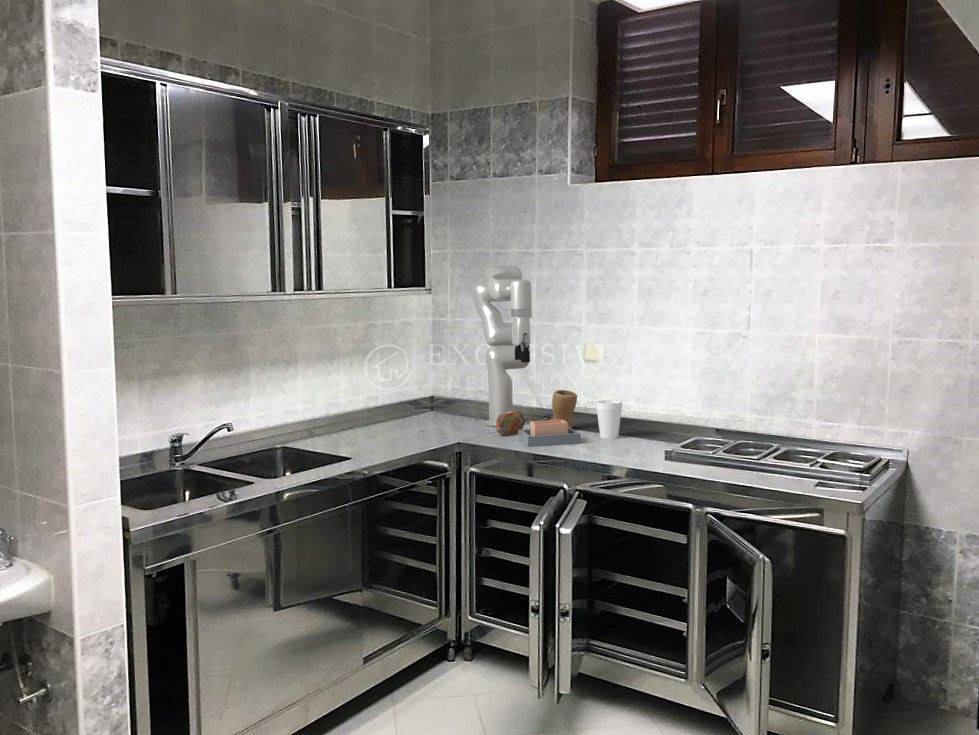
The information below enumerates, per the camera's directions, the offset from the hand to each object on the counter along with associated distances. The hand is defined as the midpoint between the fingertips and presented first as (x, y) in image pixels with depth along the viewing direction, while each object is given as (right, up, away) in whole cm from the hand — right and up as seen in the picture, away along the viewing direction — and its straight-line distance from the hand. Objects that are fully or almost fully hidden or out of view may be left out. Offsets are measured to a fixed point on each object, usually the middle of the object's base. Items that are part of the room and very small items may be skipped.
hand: (522, 361), depth 316 cm
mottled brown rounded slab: (-4, -28, +11) cm, 30 cm away
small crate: (+9, -28, -5) cm, 30 cm away
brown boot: (+16, -26, +20) cm, 37 cm away
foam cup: (+32, -28, 0) cm, 42 cm away
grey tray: (+9, -29, -5) cm, 31 cm away
